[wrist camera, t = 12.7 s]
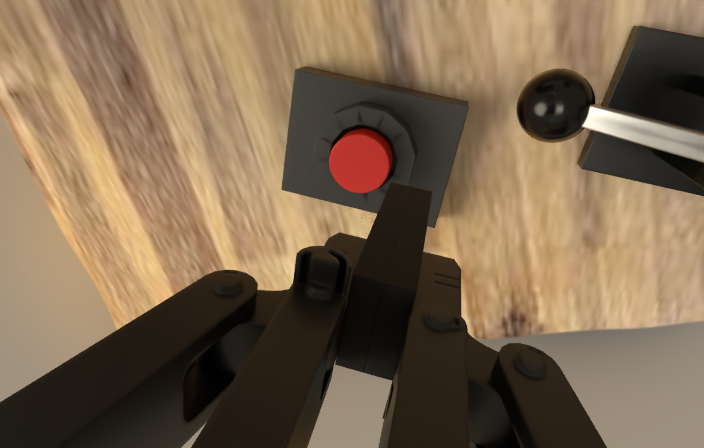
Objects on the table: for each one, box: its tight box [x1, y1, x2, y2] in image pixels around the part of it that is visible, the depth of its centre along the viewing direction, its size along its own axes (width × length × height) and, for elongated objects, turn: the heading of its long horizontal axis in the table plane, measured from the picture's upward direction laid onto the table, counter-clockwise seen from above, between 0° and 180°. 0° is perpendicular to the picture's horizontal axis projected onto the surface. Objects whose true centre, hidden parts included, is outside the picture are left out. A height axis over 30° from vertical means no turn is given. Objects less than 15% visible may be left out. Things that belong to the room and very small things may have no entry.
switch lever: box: [517, 69, 704, 163], centre depth 20 cm, size 15×4×4 cm, turn 81°
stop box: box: [282, 67, 469, 228], centre depth 33 cm, size 12×9×4 cm
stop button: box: [329, 128, 393, 193], centre depth 31 cm, size 4×4×2 cm
